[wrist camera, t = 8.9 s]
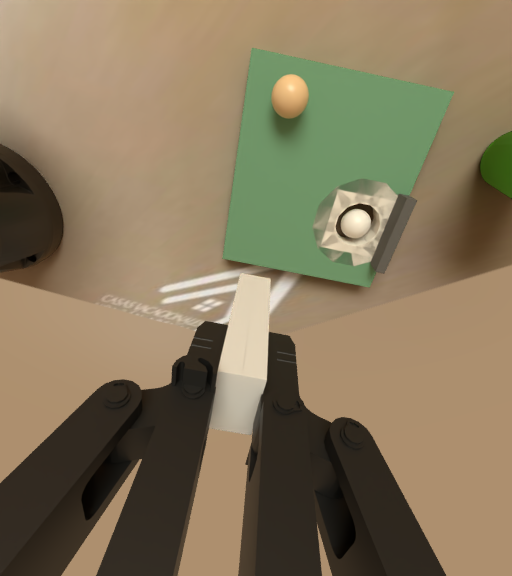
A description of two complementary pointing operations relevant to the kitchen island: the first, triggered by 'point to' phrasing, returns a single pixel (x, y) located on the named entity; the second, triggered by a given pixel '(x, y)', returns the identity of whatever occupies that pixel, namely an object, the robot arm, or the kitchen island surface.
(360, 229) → the ball
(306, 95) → the brown egg
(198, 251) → the kitchen island surface
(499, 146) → the cup
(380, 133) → the putting mat
